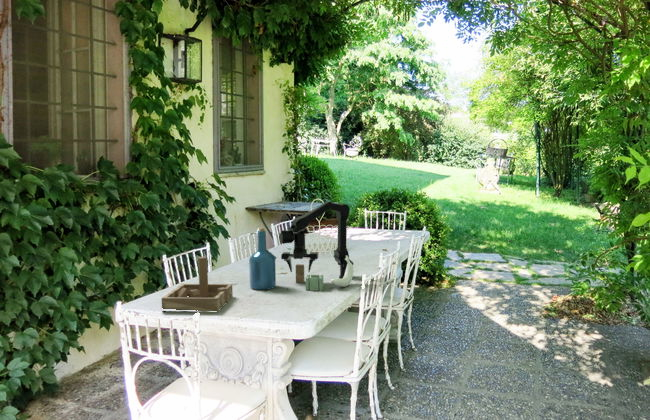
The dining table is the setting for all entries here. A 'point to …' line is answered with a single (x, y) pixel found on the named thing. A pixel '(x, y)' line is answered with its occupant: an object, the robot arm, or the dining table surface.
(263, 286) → the wine bottle
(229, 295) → the crate frame
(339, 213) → the robot arm
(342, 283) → the banana
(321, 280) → the green open frame
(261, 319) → the dining table surface
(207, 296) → the wooden blocks
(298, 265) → the walnut peg
